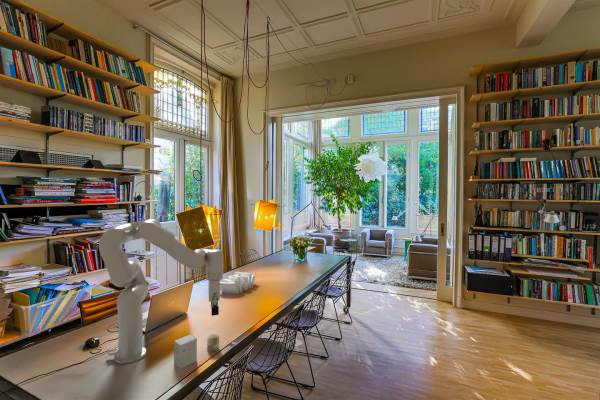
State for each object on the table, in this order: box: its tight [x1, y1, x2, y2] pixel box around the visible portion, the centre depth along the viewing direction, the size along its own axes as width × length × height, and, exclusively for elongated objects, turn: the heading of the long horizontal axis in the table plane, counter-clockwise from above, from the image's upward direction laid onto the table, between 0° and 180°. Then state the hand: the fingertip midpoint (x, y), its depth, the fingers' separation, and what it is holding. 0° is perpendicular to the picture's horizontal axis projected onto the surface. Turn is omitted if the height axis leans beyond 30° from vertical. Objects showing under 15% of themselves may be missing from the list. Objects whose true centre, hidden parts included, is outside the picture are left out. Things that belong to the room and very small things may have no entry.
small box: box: [173, 334, 198, 370], centre depth 127 cm, size 8×6×10 cm
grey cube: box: [206, 333, 220, 353], centre depth 139 cm, size 6×6×6 cm
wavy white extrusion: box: [220, 271, 256, 295], centre depth 225 cm, size 35×16×11 cm, turn 153°
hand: (214, 310), depth 138 cm, fingers open, 9 cm apart
